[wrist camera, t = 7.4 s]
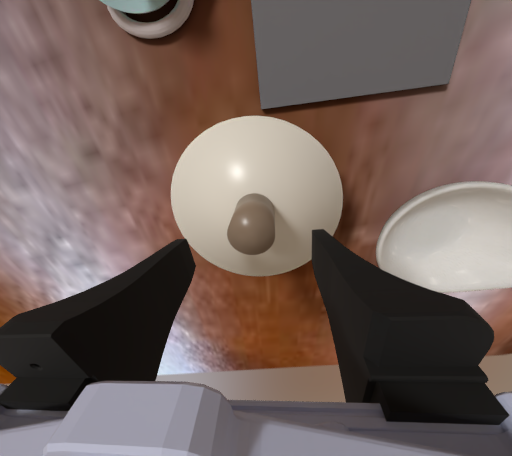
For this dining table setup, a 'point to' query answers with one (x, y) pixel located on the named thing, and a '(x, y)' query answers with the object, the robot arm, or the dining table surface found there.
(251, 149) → the lid
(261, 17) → the mat
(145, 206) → the dining table surface
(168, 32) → the pacifier
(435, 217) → the spoon rest
